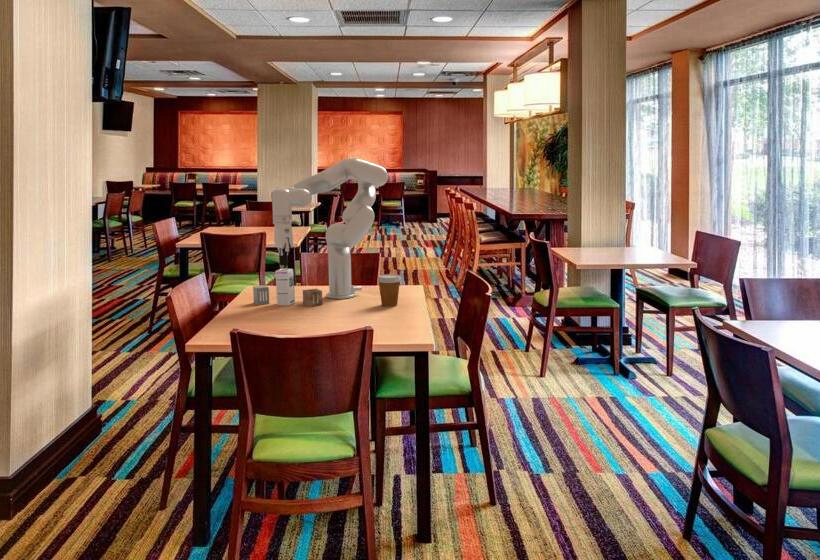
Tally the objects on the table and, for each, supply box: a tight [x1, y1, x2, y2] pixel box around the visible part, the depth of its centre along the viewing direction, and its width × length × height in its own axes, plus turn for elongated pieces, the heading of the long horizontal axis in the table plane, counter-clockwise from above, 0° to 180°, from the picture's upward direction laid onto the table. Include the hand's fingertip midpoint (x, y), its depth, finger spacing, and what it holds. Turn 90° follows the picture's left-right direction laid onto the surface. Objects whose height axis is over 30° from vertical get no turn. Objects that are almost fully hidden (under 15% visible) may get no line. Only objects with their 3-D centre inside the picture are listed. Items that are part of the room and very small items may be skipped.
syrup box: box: [274, 268, 296, 307], centre depth 296 cm, size 6×6×14 cm
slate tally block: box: [252, 285, 270, 306], centre depth 299 cm, size 5×5×7 cm
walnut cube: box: [302, 288, 323, 308], centre depth 296 cm, size 6×6×6 cm
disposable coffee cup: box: [376, 273, 402, 307], centre depth 292 cm, size 10×10×12 cm
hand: (283, 264), depth 295 cm, fingers closed
